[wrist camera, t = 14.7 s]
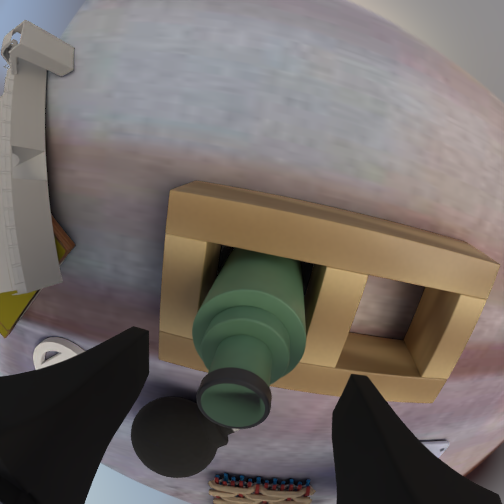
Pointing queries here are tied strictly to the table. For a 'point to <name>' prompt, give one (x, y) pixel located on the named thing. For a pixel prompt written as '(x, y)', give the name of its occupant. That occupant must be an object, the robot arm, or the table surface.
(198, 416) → the light bulb
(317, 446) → the table surface
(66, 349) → the pendant
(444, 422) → the table surface
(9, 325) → the harmonica
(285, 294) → the bottle
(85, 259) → the table surface
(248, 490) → the woven mat
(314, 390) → the hole block
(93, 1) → the table surface
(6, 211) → the skate ramp
